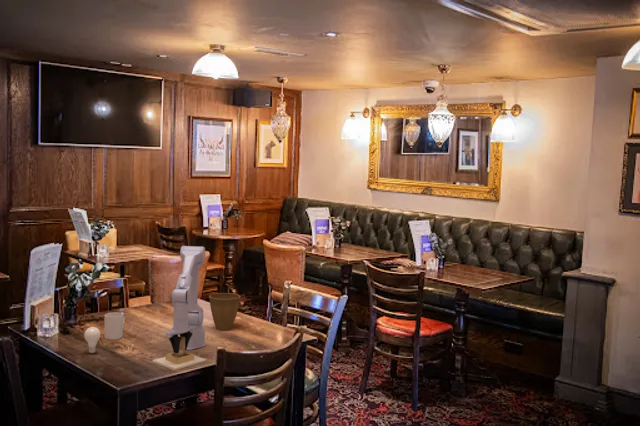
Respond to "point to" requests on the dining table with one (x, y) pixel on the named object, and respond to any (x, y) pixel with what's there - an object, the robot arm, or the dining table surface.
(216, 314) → the plant pot
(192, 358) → the socket plate
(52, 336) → the dining table surface
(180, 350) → the birch peg
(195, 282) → the robot arm
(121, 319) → the mug
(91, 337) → the lightbulb
